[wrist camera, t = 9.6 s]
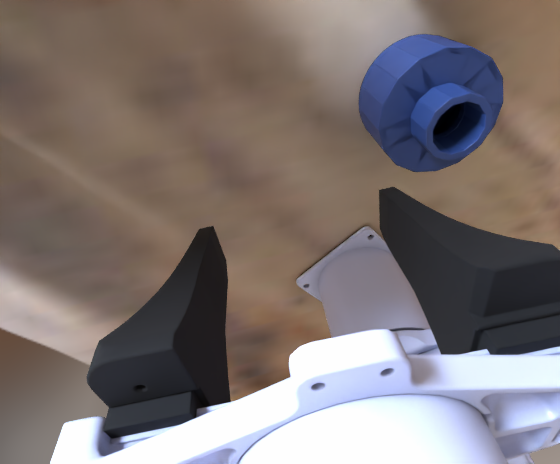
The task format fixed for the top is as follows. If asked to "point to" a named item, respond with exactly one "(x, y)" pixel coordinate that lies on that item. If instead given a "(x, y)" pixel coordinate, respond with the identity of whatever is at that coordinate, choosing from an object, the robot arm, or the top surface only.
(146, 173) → the top surface
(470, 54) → the blue ribbed hub
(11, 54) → the top surface
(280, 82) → the top surface
